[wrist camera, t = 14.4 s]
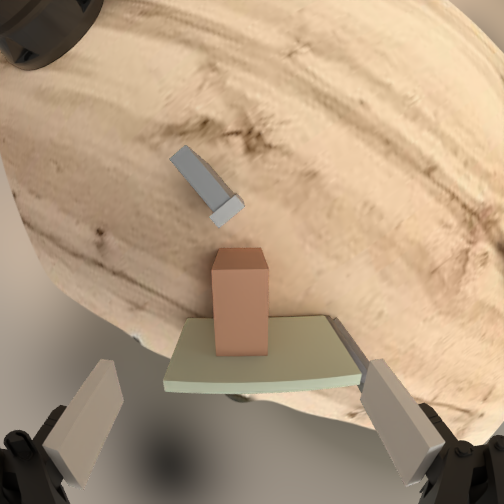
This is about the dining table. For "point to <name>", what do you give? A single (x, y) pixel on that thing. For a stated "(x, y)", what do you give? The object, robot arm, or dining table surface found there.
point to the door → (265, 360)
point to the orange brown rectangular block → (240, 302)
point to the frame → (228, 209)
